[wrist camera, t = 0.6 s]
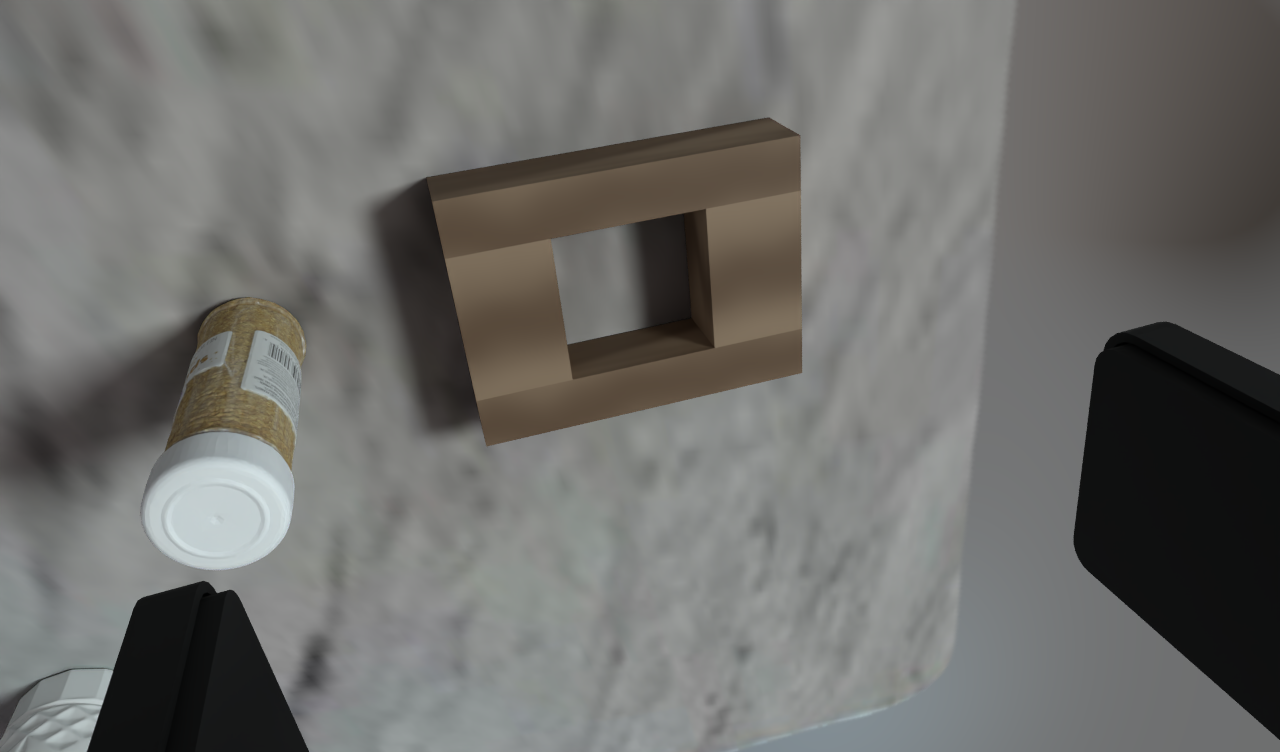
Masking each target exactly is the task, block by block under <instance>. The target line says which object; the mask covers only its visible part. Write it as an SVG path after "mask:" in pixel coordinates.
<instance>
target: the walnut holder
mask: <svg viewBox="0 0 1280 752" xmlns="http://www.w3.org/2000/svg"><path fill="white" fill-rule="evenodd" d="M426 178H427V183H428V187H429V192H430V196H431V201H432V205H433V210H434V214H435V219H436V223H437V228H438V232H439V237H440V241H441V246H442V250H443V255H444V259H445V264H446V268H447V273H448V277H449V282H450V286H451V291H452V295H453V300H454V304H455V309H456V313H457V318H458V322H459V327H460V332H461V336H462V341H463V345H464V350H465V354H466V359H467V363H468V368H469V372H470V377H471V381H472V386H473V390H474V395H475V399H476V404H477V408H478V412H479V417H480V421H481V425H482V429H483V434H484V438H485V442H486V446H490V445H494V444H499V443H503V442H507V441H512V440H516V439H520V438H524V437H529V436H533V435H537V434H542V433H546V432H550V431H554V430H559V429H563V428H567V427H572V426H576V425H580V424H584V423H589V422H593V421H597V420H602V419H606V418H610V417H615V416H619V415H623V414H627V413H632V412H636V411H640V410H645V409H649V408H653V407H657V406H662V405H666V404H670V403H675V402H679V401H683V400H688V399H692V398H696V397H700V396H705V395H709V394H713V393H718V392H722V391H726V390H730V389H735V388H739V387H743V386H748V385H752V384H756V383H761V382H765V381H769V380H773V379H778V378H782V377H786V376H791V375H795V374H799V373H802V296H801V161H800V135H799V134H797V133H795V132H794V131H792V130H790V129H788V128H786V127H785V126H783V125H781V124H779V123H778V122H776V121H774V120H772V119H771V118H764V119H758V120H752V121H747V122H741V123H735V124H729V125H724V126H718V127H712V128H707V129H701V130H695V131H689V132H684V133H678V134H672V135H666V136H661V137H655V138H649V139H644V140H638V141H632V142H626V143H621V144H615V145H609V146H604V147H598V148H592V149H586V150H581V151H575V152H569V153H564V154H558V155H552V156H546V157H541V158H535V159H529V160H524V161H518V162H512V163H506V164H501V165H495V166H489V167H484V168H478V169H472V170H466V171H461V172H455V173H449V174H444V175H438V176H432V177H426ZM682 213H684V224H685V237H686V250H687V264H688V277H689V290H690V303H691V316H692V318H690V319H686V320H681V321H676V322H672V323H667V324H662V325H658V326H653V327H648V328H644V329H639V330H635V331H630V332H625V333H621V334H616V335H611V336H607V337H602V338H597V339H593V340H588V341H584V342H579V343H574V344H570V345H567V341H566V334H565V328H564V321H563V315H562V309H561V302H560V296H559V289H558V283H557V277H556V270H555V264H554V257H553V251H552V245H551V239H552V238H557V237H562V236H568V235H573V234H578V233H583V232H588V231H594V230H599V229H604V228H609V227H614V226H620V225H625V224H630V223H635V222H640V221H646V220H651V219H656V218H661V217H666V216H672V215H677V214H682Z"/></svg>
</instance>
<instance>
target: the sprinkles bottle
mask: <svg viewBox="0 0 1280 752" xmlns="http://www.w3.org/2000/svg"><path fill="white" fill-rule="evenodd" d="M197 339H198V344H197V349H196V352H195V354H194V356H193V358H192V360H191V363H190V366H189V370H188V373H187V377H186V380H185V384H184V387H183V390H182V393H181V396H180V400H179V403H178V406H177V409H176V412H175V415H174V418H173V424H172V431H171V434H170V436H169V439H168V442H167V446H166V449H165V452H164V453H163V454H162V455H161V456H160V457H159V458H158V460H157V461H156V463H155V465H154V466H153V468H152V470H151V473H150V476H149V479H148V481H147V484H146V488H145V491H144V495H143V499H142V503H141V511H140V515H141V522H142V526H143V528H144V531H145V533H146V535H147V537H148V538H149V540H150V541H151V542H152V544H153V545H154V546H155V547H156V548H157V549H158V550H159V551H160V552H162V553H163V554H164V555H166V556H167V557H169V558H170V559H172V560H174V561H176V562H178V563H181V564H183V565H186V566H190V567H194V568H198V569H206V570H227V569H233V568H238V567H242V566H245V565H248V564H250V563H253V562H255V561H257V560H259V559H261V558H263V557H264V556H266V555H267V554H269V553H270V552H271V551H272V550H273V549H274V548H276V547H277V545H278V544H279V543H280V542H281V541H282V539H283V538H284V536H285V535H286V533H287V530H288V528H289V525H290V521H291V516H292V509H293V502H294V489H295V485H294V479H293V475H292V472H291V469H292V459H293V453H294V450H295V446H296V436H297V426H298V417H299V405H300V393H301V381H302V378H301V365H302V363H303V360H304V358H305V353H306V340H305V337H304V332H303V330H302V329H301V327H300V324H299V322H298V321H297V320H296V319H295V318H294V317H293V316H292V315H291V314H290V313H289V312H288V311H287V310H286V309H284V308H283V307H281V306H279V305H277V304H275V303H272V302H270V301H266V300H262V299H257V298H250V297H247V298H241V299H235V300H232V301H229V302H227V303H225V304H222V305H221V306H219V307H217V308H215V309H214V310H213V311H212V312H211V313H210V314H209V315H208V316H207V317H206V318H205V320H204V321H203V323H202V325H201V327H200V330H199V333H198V336H197Z"/></svg>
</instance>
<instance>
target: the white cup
mask: <svg viewBox="0 0 1280 752" xmlns="http://www.w3.org/2000/svg"><path fill="white" fill-rule="evenodd" d="M112 673H113V670H109V669H72V670H69V671H66V672H63V673H60V674H57V675H55V676H52V677H49V678H46V679H43V680H41V681H40V682H39V683H38V684H36V685H35V686H34V687H33V688H32V689H31V690H30V691H29V692H27V693H26V694H25V695H24V696H23V697H22V698H21V699H20V701H19V703H18V705H17V707H16V709H15V711H14V713H13V715H12V718H11V720H10V722H9V724H8V726H7V728H6V731H5V733H4V735H3V737H2V738H1V740H0V752H87V750H88V747H89V743H90V740H91V737H92V734H93V731H94V728H95V725H96V722H97V719H98V716H99V713H100V710H101V707H102V704H103V701H104V698H105V695H106V692H107V688H108V685H109V682H110V679H111V676H112Z"/></svg>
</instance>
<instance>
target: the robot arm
mask: <svg viewBox="0 0 1280 752" xmlns="http://www.w3.org/2000/svg"><path fill="white" fill-rule="evenodd" d="M1074 547H1075V551H1076V554H1077V556H1078V558H1079V560H1080V562H1081V563H1082V565H1083V566H1084V567H1085V568H1086V569H1087V570H1088V572H1090V573H1091V574H1092V575H1093V576H1094V577H1095V578H1096V579H1098V580H1099V581H1100V582H1101V583H1102V584H1103V585H1105V587H1107V588H1108V589H1109V590H1110V591H1111V592H1113V594H1115V595H1116V596H1117V597H1118V598H1119V599H1120V600H1121V601H1123V602H1124V603H1125V604H1126V605H1127V606H1128V607H1129V608H1130V609H1132V610H1133V611H1134V612H1135V613H1136V614H1137V615H1138V616H1140V617H1141V618H1142V619H1143V620H1144V621H1145V622H1146V623H1148V624H1149V625H1150V626H1151V627H1152V628H1153V629H1154V630H1155V631H1157V632H1158V633H1159V634H1160V635H1161V636H1162V637H1163V638H1165V639H1166V640H1167V641H1168V642H1169V643H1170V644H1171V645H1172V646H1174V647H1175V648H1176V649H1177V650H1178V651H1179V652H1181V653H1182V654H1183V655H1184V656H1185V657H1186V658H1187V659H1188V660H1190V661H1191V662H1192V663H1193V664H1194V665H1195V666H1196V667H1198V668H1199V669H1200V670H1201V671H1202V672H1203V673H1204V674H1206V675H1207V676H1208V677H1209V678H1210V679H1211V680H1212V681H1213V682H1214V683H1216V684H1217V685H1218V686H1219V687H1220V688H1221V689H1222V690H1224V691H1225V692H1226V693H1227V694H1228V695H1229V696H1230V697H1232V698H1233V699H1234V700H1235V701H1236V702H1237V703H1239V705H1241V706H1242V707H1243V708H1244V709H1245V710H1247V711H1248V712H1249V713H1250V714H1251V715H1252V716H1253V717H1254V718H1256V719H1257V720H1258V721H1259V722H1260V723H1261V724H1262V725H1263V726H1264V727H1266V728H1267V729H1268V730H1269V731H1270V732H1271V733H1272V734H1274V735H1275V736H1276V737H1277V738H1278V739H1279V740H1280V375H1279V374H1277V373H1275V372H1273V371H1271V370H1269V369H1267V368H1265V367H1262V366H1260V365H1258V364H1256V363H1254V362H1252V361H1250V360H1248V359H1246V358H1244V357H1242V356H1240V355H1238V354H1236V353H1234V352H1232V351H1230V350H1227V349H1225V348H1223V347H1221V346H1219V345H1217V344H1215V343H1213V342H1211V341H1209V340H1207V339H1205V338H1203V337H1201V336H1199V335H1196V334H1194V333H1192V332H1190V331H1188V330H1186V329H1184V328H1182V327H1180V326H1178V325H1176V324H1173V323H1169V322H1157V323H1154V324H1150V325H1146V326H1143V327H1139V328H1135V329H1131V330H1128V331H1124V332H1121V333H1117V334H1115V335H1114V336H1112V337H1111V338H1110V339H1109V340H1108V342H1107V343H1106V344H1105V347H1104V351H1103V352H1101V353H1100V354H1099V355H1098V357H1097V358H1096V362H1095V366H1094V375H1093V383H1092V391H1091V399H1090V407H1089V416H1088V423H1087V432H1086V440H1085V448H1084V456H1083V464H1082V472H1081V480H1080V488H1079V497H1078V505H1077V513H1076V521H1075V529H1074ZM87 752H309V750H308V748H307V746H306V744H305V742H304V739H303V737H302V735H301V733H300V731H299V728H298V726H297V724H296V722H295V720H294V717H293V715H292V713H291V711H290V709H289V706H288V704H287V702H286V700H285V697H284V695H283V693H282V691H281V689H280V686H279V684H278V682H277V680H276V678H275V675H274V673H273V671H272V669H271V667H270V664H269V662H268V660H267V658H266V656H265V653H264V651H263V649H262V647H261V644H260V642H259V640H258V638H257V636H256V633H255V631H254V629H253V627H252V625H251V622H250V620H249V618H248V616H247V614H246V611H245V609H244V607H243V605H242V603H241V601H240V599H239V597H238V595H237V594H236V593H235V592H234V591H233V590H227V591H224V592H220V593H216V591H215V589H214V588H213V587H212V586H211V585H210V584H209V583H208V582H205V581H201V582H198V583H194V584H190V585H187V586H183V587H179V588H176V589H172V590H168V591H164V592H161V593H157V594H153V595H150V596H146V597H143V598H141V599H140V600H138V601H137V603H136V605H135V607H134V609H133V612H132V615H131V618H130V621H129V624H128V627H127V630H126V634H125V637H124V640H123V643H122V646H121V649H120V652H119V655H118V658H117V661H116V664H115V667H114V670H113V673H112V676H111V679H110V682H109V685H108V688H107V692H106V695H105V698H104V701H103V704H102V707H101V710H100V713H99V716H98V719H97V722H96V725H95V728H94V731H93V734H92V737H91V740H90V743H89V747H88V750H87Z"/></svg>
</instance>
